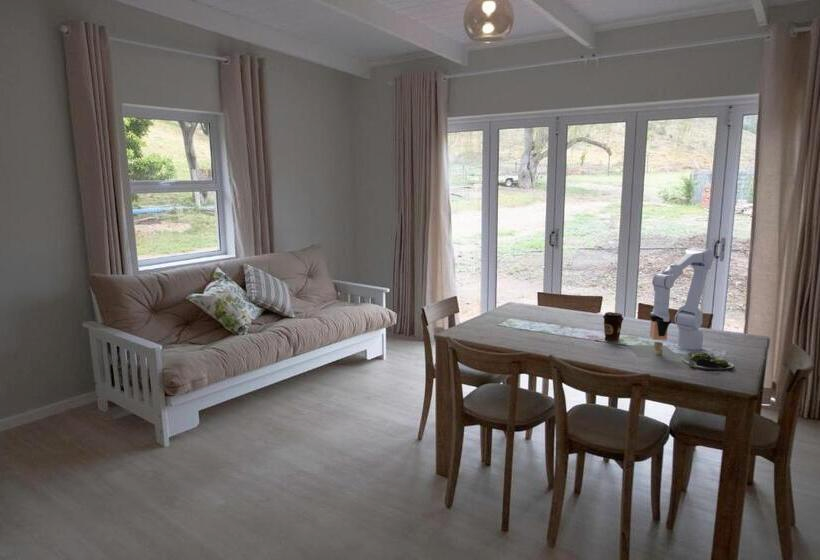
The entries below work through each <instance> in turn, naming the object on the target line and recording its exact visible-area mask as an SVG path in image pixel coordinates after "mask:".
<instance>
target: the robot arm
mask: <svg viewBox="0 0 820 560" xmlns="http://www.w3.org/2000/svg"><path fill="white" fill-rule="evenodd" d="M714 257H715V256H714V253H713V251H712V249H710V248H707V249H706V248H699V247H692V246H689V247H687V249H686V250H684V253H683V256H682V257H681V258H680V259H679V260H678V261H677V262H676V263H671V264H669V266H668V267H667V268H666V269H665V270H663V271H662V272H661V273H657V274H655V275H654V276H653V279H652V280H651V281H652V283H651V284H652V287H653V291H654V295H653V296H654V300H653V308H652V311H651V312H650V315H649V317H650V320H651V321H656V322H657V325H658V334H659V336H665V333H666V330H667V331H668V329H667V328H668V327H669V326H670V325H671V323H672V320H670V313H669V308H670V294H671V288H673V287H674V285H675V282H676V280H677V279H679V278H680V277H681V276H682V275H683V270H685V269H686V268H687V267H688V266H690V267H691V268H692V269H693V270H694V271H693V275H692V279H691V281H690V286H689V290H688V292H687V297H686V300H685V304H684V305H682V306H680V307H678V310H677V311H676V314H675V316H674V322H675V325H676V326H677V328H678V331H677V334H678V335H677V342H676V343H673V345H674V346H676V347H677V348H678V349H679V350H696V349H698V350H699V349H702V350H701V351H703V342H704V340H703V339H704V332H703V331H704V330H703V329H702V328H701V326H702V325H703V316H704V313H703V311H702V310H701V309H700V308H699V305H700V302H701V300H702V299H701V297H702V294H703V290H704V287H705V285H706V279H707V277H708V272H709V270H710V269H711V267H712V264H713V261H714ZM698 350H697V351H698ZM699 351H700V350H699Z"/></svg>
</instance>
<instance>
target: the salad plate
mask: <svg viewBox="0 0 820 560" xmlns="http://www.w3.org/2000/svg"><path fill="white" fill-rule="evenodd" d="M681 360H682V361H683V363H685V364H687V365H688V366H690V367H692V368H693V369H697V370H701V371H705V372H709V371H722V372H726V371H728V372H730V371H731V370H733V369H734V368H735V364H733V363H731V362H728V361H727V360H725V359H723V358H720V357H719V356H713V355H710V354H708V353H706V352H702V353H701V352H700V353H699V352H695V353H694V354H693V353H692V352H688V353H687V354H686V355H684V356H683V357H681ZM729 370H730V371H729Z"/></svg>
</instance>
